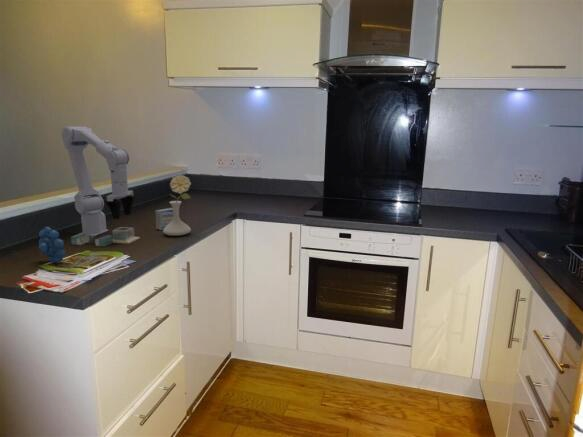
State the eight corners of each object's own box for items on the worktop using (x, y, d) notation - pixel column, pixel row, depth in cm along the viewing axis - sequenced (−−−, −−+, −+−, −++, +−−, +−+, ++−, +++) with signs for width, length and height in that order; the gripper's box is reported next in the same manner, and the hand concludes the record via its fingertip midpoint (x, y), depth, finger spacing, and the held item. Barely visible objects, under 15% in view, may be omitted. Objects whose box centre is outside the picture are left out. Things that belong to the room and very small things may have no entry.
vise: (80, 241, 167) (79, 233, 167) (113, 243, 165) (112, 235, 164) (71, 244, 162) (70, 236, 162) (105, 246, 160) (104, 238, 159)
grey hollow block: (121, 236, 172) (121, 227, 171) (134, 237, 171) (133, 227, 170) (113, 240, 166) (112, 230, 166) (126, 241, 165) (125, 231, 164)
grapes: (30, 263, 140) (25, 227, 137) (49, 258, 146) (45, 223, 143) (52, 269, 135) (47, 232, 132) (71, 263, 140) (68, 227, 138)
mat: (119, 237, 173) (119, 235, 173) (140, 238, 172) (139, 236, 171) (107, 242, 166) (107, 240, 165) (128, 243, 164) (128, 242, 164)
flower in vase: (157, 236, 174) (153, 175, 169) (172, 230, 185) (169, 172, 180) (186, 239, 171) (183, 176, 166) (199, 232, 182) (197, 173, 176)
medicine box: (161, 231, 184) (160, 211, 182) (156, 229, 187) (154, 209, 185) (177, 227, 190) (176, 208, 188) (172, 226, 193) (170, 207, 191)
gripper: (117, 184, 156) (120, 221, 159) (139, 179, 170) (141, 213, 173) (100, 184, 157) (103, 220, 160) (123, 179, 171) (125, 212, 174)
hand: (122, 216), depth 167 cm, fingers open, 7 cm apart
